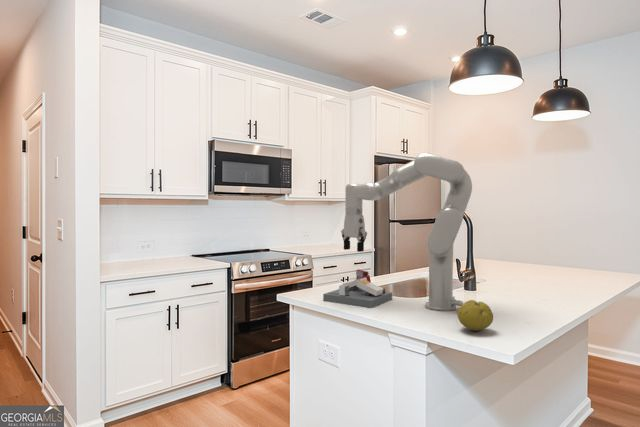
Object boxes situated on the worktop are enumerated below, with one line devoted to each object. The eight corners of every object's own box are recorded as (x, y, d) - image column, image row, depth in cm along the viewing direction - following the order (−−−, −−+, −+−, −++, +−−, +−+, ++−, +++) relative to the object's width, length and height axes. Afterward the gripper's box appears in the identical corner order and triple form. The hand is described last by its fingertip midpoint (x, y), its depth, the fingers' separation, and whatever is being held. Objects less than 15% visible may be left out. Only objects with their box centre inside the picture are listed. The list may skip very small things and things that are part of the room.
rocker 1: (367, 282, 195) (366, 276, 196) (361, 284, 190) (359, 278, 191) (349, 286, 201) (348, 281, 201) (343, 288, 196) (341, 283, 196)
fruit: (451, 326, 147) (451, 297, 147) (484, 325, 147) (484, 297, 147) (463, 336, 136) (464, 305, 136) (499, 335, 136) (499, 304, 136)
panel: (392, 299, 190) (392, 288, 190) (371, 308, 173) (372, 296, 173) (346, 293, 203) (346, 283, 203) (323, 300, 186) (323, 289, 186)
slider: (349, 294, 185) (349, 285, 185) (344, 295, 181) (344, 286, 181) (343, 293, 186) (343, 284, 186) (339, 294, 183) (339, 285, 183)
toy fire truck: (363, 294, 200) (363, 272, 200) (351, 290, 211) (351, 269, 211) (375, 293, 203) (375, 271, 202) (363, 288, 214) (363, 268, 214)
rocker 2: (382, 293, 185) (383, 288, 184) (376, 296, 180) (377, 290, 179) (362, 284, 190) (364, 279, 189) (356, 286, 185) (358, 281, 184)
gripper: (373, 212, 181) (372, 251, 181) (348, 211, 195) (348, 248, 196) (359, 212, 177) (359, 252, 177) (335, 211, 191) (335, 249, 192)
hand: (353, 250), depth 186 cm, fingers open, 9 cm apart
